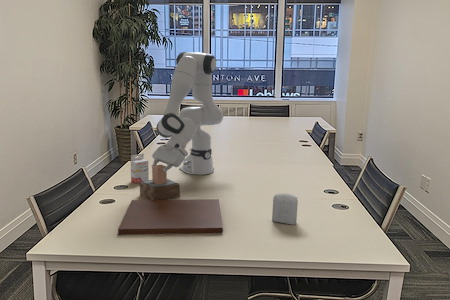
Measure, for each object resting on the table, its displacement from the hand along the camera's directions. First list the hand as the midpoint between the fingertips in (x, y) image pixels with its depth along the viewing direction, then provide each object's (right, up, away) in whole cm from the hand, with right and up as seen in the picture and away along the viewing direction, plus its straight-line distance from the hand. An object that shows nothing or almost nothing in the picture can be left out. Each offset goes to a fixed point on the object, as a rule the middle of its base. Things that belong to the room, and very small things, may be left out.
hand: (158, 169), depth 198 cm
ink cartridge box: (-14, -8, +27) cm, 32 cm away
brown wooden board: (+10, -20, -24) cm, 33 cm away
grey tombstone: (+57, -21, -27) cm, 66 cm away
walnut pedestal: (0, -13, +3) cm, 14 cm away
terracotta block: (0, -6, +2) cm, 6 cm away
